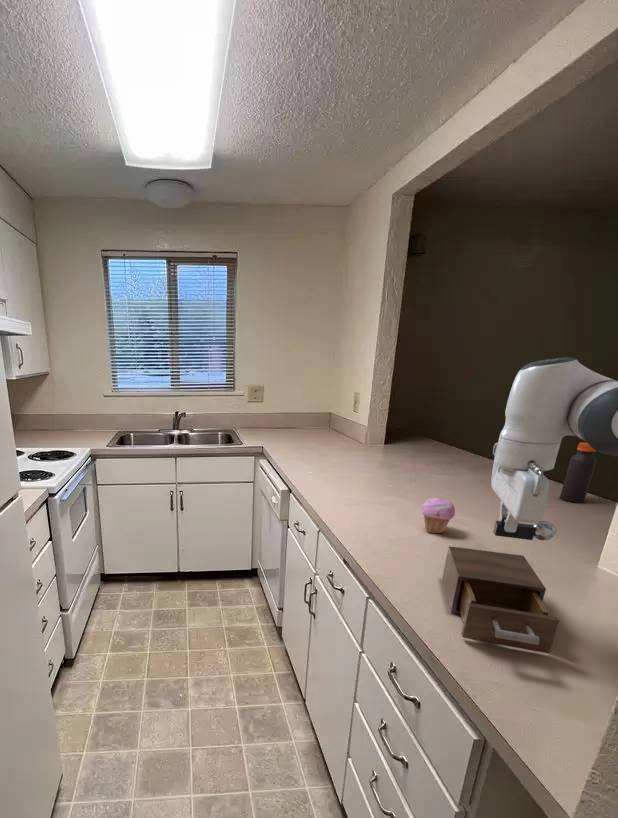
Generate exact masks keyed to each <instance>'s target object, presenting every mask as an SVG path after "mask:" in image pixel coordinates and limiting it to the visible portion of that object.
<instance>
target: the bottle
mask: <svg viewBox="0 0 618 818" xmlns="http://www.w3.org/2000/svg"><path fill="white" fill-rule="evenodd" d="M576 452H577V453H576V454H574V455H572V456H571V457H570V461H569V464H568V467H567V471H566V475H565V478H564V481H563V484H562V488H561V491H560V495H559V499H560V500H562V501H564V502H567V503H573V504H582V503H584V502H585V500H586V497H587V494H588V491H589V487H590V484H591V480H592V477H593V474H594V470H595V467H596V464H597V461H598V460H597V458H596V457H595V456H594V454H595V453H596V452H597V451H596V450H595V449H593V448H592V447H591V446H590V445H589V444H588V443H587V442H578V445H577V448H576Z"/></svg>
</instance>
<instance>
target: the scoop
mask: <svg viewBox="0 0 618 818" xmlns="http://www.w3.org/2000/svg"><path fill="white" fill-rule="evenodd" d="M503 525H504V522H503V521H499V520H495V522H494V527H493V531H492V533H493V535H494V536H495V537H502V538H512V539H519V540H527V541H533V540H534V538H535V539H537V540H539V541H544V542H545V541H546V542H547V541H550V540H552V539H554V538H555V537H556V535H557V531H558V530H557V527H556V525H554V523H552V522H551V521H548V520H540V522H538V523H533V524H528V523H520V522H519V523H518V525H517V529H516V531H515V532H506V531H505V530H504V528H503Z"/></svg>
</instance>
